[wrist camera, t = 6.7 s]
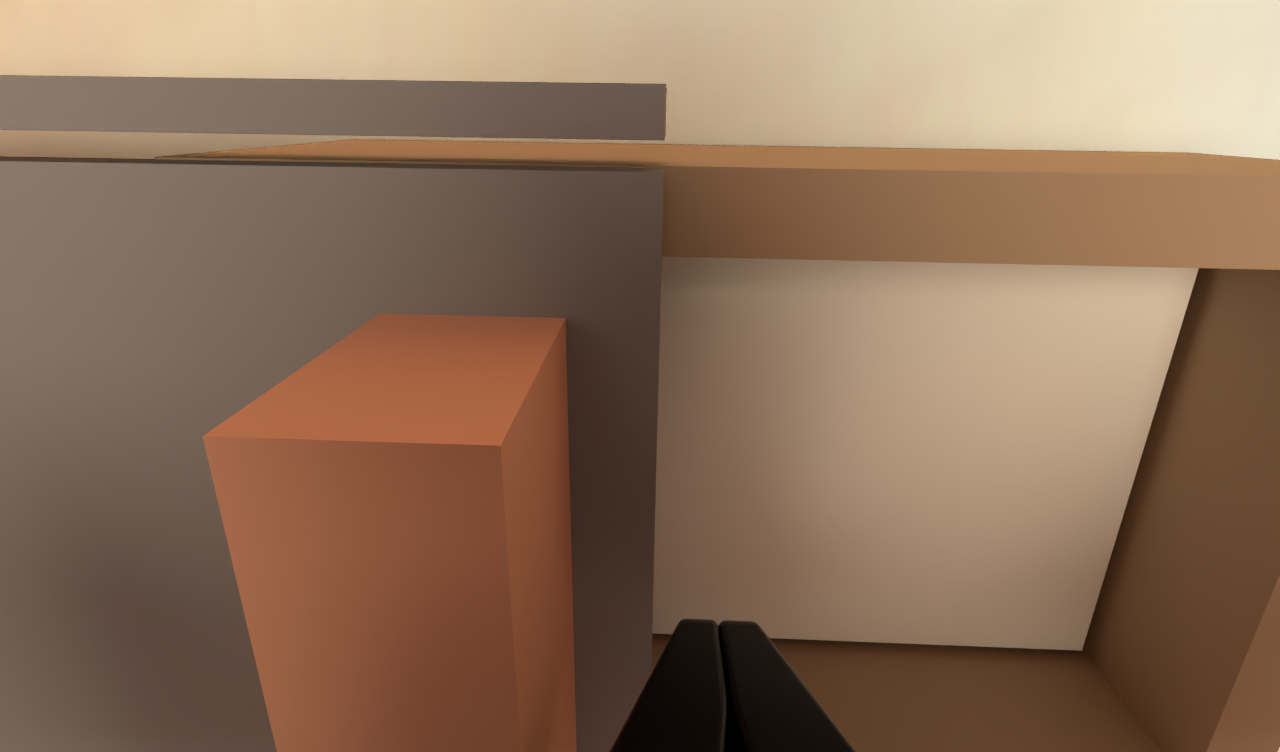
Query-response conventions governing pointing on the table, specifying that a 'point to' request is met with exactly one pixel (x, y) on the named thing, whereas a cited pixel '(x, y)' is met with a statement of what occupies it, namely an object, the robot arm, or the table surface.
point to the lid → (326, 424)
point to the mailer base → (1195, 477)
